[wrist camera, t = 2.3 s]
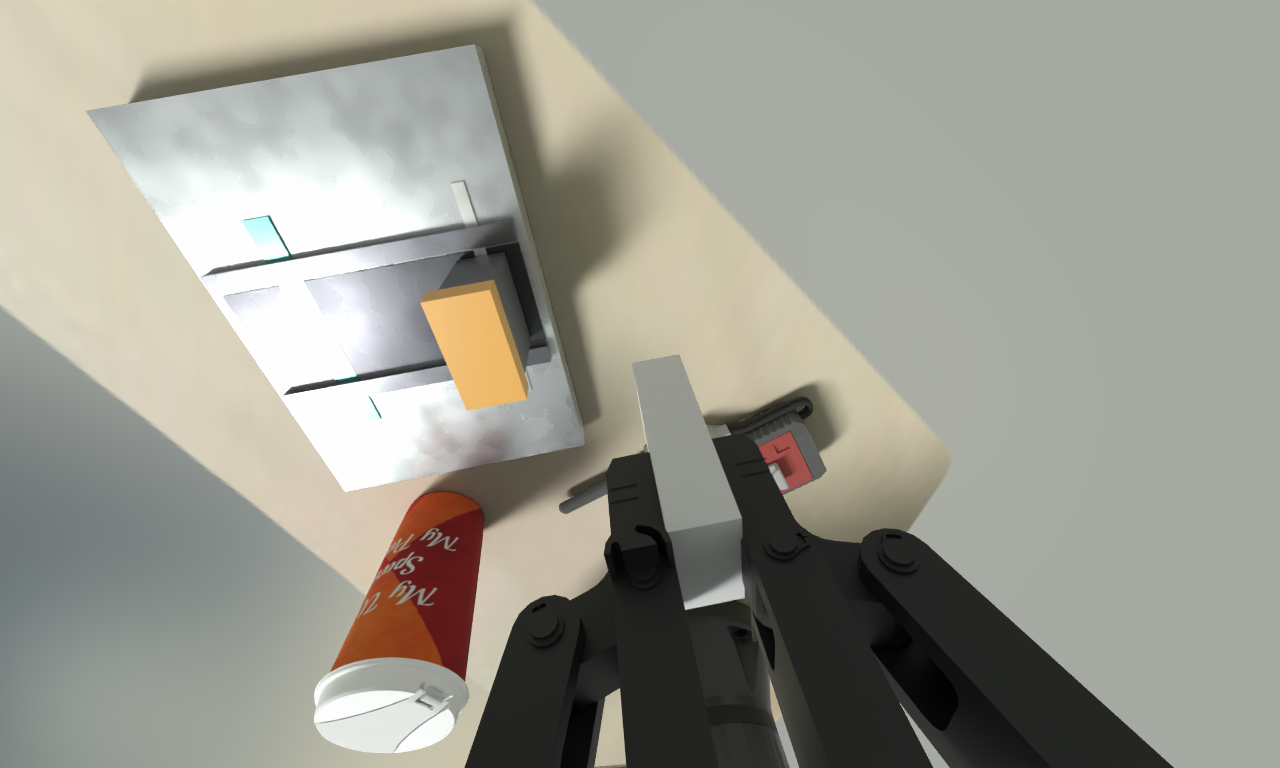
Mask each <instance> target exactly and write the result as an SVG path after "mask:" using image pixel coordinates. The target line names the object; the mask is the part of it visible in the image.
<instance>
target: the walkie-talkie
mask: <svg viewBox="0 0 1280 768" xmlns="http://www.w3.org/2000/svg"><path fill="white" fill-rule="evenodd" d="M800 406H805V408H803V409H802V410H801V411H799V412H797V411H796V410H795V408H797V407H800ZM812 412H813V404H812V403H811V402H810V400H809V399H808V398H805V397H800V398H796V399H793V400H791V401H789V402H787V403H780V404H779V405H777V406H773V408H771V409H767V410H766V411H765V412H763V413H762V412H761V413H759V415H757V416H753V417H752V418H751V419H746V421H745V422H743V423H741V422H740V423H739V425H734V426H731V427H727V425H726V424H724V425H722V426H721V425H706V426H707V428H708V431H709V434H710V436H711V439H713V438H718V437H723V436H728V435H734V434H739V433H744V434H745V435H746V436H747V437H749V438H750V439H751V440H752V441H754V442H755V443H756V444H757V445H758V447H759V449H760V451H761V453H762V455H763V457H764V461H766V463H767V465H768V467H769V469H770V473H772V475H773V477H774V479H775V481H776V483H777V485H778V487H779V489H780V491H781V493H782V495H783V494H786V493H788V492H790V491H793V490H794V489H796V488H799V487H801V486H803V485H806V484H807V483H809V482H812V481H814V480H816V479H819V478H820V477H821V476H822V475H823V474H824V473H825V472H826V468H825V466H824V464H823V461H822V459H821V457H820V455H819V452H818V450H817V448H816V446H815V443H814V441H813V439H812V437H811V434H810V432H809V430H808V428H807V426H806V424H805V423H804V422H803V419H805V418H807V417H808V416H810V415H811V413H812ZM644 452H645V453H646V452H648V449H647V445H646V446H644ZM606 494H608V490H607V479H605V480H603V481H601V482H599V483H597V484H595V485H593V486H591V487H589V489H588V490H586V491H584V492H582V493H580V494H578V495H576V496H574V497H572V498H570V499H568V500H566V501H564V502H562V503H561V504H560V505H559V509H560V511H561V512H562V513H564V514H568V513H570V512H572V511H574V510H576V509H578V508H580V507H582V506H584V505H586V504H588V503H590V502H592V501H594V500H596V499H598V498H600V497H602V496H604V495H606Z"/></svg>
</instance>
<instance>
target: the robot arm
mask: <svg viewBox="0 0 1280 768" xmlns="http://www.w3.org/2000/svg"><path fill="white" fill-rule="evenodd" d="M632 368H633V373H634V379H635V384H636V390H637V395H638V401H639V406H640V412H641V417H642V423H643V428H644V434H645V439H646V444H647V449H648V452H646V453H641V454H635V455H630V456H625V457H620V458H614V459H612V461H611V464H610V466H609V468H608V471H607V473H606V479H607V490H608V503H609V515H610V527H611V535H610V537H609V539H608V540H607V542H606V544H605V550H604V557H605V560H606V563H607V567H608V570H609V571H608V572H607V574H606V576H605V577H604V578H603V579H602V580H601V581H600V582H599V583H598V584H597V585H596V586H595V587H593V588H592V589H590V590H589V591H587V592H585V593H583V594H581V595H579V596H578V597H576V598H574V599H572V600H569V599H567V598H565V597H561V596H557V595H552V596H545V597H541V598H539V599H537V600H535V601H534V602H532V603H530V604H529V605H528V606H527V607H526V608H525V609H524V610H523V611H522V612H521V613H520V614H519V615H518V617H517V619H516V621H515V623H514V625H513V627H512V630H511V633H510V636H509V639H508V642H507V645H506V647H505V650H504V653H503V656H502V659H501V662H500V665H499V668H498V671H497V674H496V677H495V680H494V683H493V686H492V689H491V692H490V695H489V698H488V701H487V704H486V706H485V710H484V713H483V715H482V718H481V721H480V724H479V727H478V730H477V733H476V736H475V739H474V742H473V745H472V748H471V750H470V753H469V757H468V759H467V762H466V765H465V768H789V764H788V761H787V758H786V755H785V752H784V750H783V746H782V743H781V740H780V737H779V734H778V731H777V728H776V725H775V722H774V718H773V715H772V711H771V702H770V679H771V682H772V685H773V688H774V691H775V694H776V697H777V700H778V703H779V706H780V709H781V713H782V716H783V719H784V722H785V724H786V728H787V731H788V734H789V737H790V740H791V743H792V746H793V749H794V752H795V755H796V758H797V762H798V765H799V768H933V766H932V765H931V763H930V761H929V759H928V757H927V755H926V753H925V751H924V749H923V747H922V745H921V743H920V741H919V740H918V738H917V736H916V734H915V732H914V730H913V728H912V726H911V724H910V722H909V720H908V718H907V716H906V715H905V713H904V711H903V709H902V707H901V705H902V706H903V707H904V709H905V710H906V711H907V713H908V714H909V715H910V716H911V718H912V719H913V720H914V722H915V723H916V724H917V725H918V727H919V728H920V729H921V731H922V732H923V733H924V734H925V736H926V737H927V739H928V740H929V741H930V742H931V744H932V745H933V746H934V748H935V749H936V750H937V751H938V753H939V754H940V755H941V757H942V758H943V759H944V760H945V762H946V763H947V764H948V766H949V767H950V768H1174V767H1172V766H1171V765H1170V764H1169V763H1168V762H1167V761H1166V760H1165V759H1164V758H1162V757H1161V756H1160V755H1159V754H1158V753H1157V752H1156V751H1155V750H1154V749H1153V748H1151V747H1150V746H1149V745H1148V744H1147V743H1146V742H1145V741H1143V740H1142V739H1141V738H1140V737H1139V736H1138V735H1137V734H1136V733H1135V732H1134V731H1133V730H1131V729H1130V728H1129V727H1128V726H1127V725H1126V724H1125V723H1124V722H1123V721H1121V720H1120V719H1119V718H1118V717H1117V716H1116V715H1115V714H1114V713H1113V712H1112V711H1110V710H1109V709H1108V708H1107V707H1106V706H1105V705H1104V704H1103V703H1102V702H1101V701H1099V700H1098V699H1097V698H1096V697H1095V696H1094V695H1093V694H1092V693H1091V692H1089V691H1088V690H1087V689H1086V688H1085V687H1084V686H1083V685H1082V684H1081V683H1079V682H1078V681H1077V680H1076V679H1075V678H1074V677H1073V676H1072V675H1071V674H1069V673H1068V672H1067V671H1066V670H1065V669H1064V668H1063V667H1062V666H1061V665H1060V664H1058V663H1057V662H1056V661H1055V660H1054V659H1053V658H1052V657H1051V656H1050V655H1048V654H1047V653H1046V652H1045V651H1044V650H1043V649H1042V648H1041V647H1040V646H1039V645H1037V644H1036V643H1035V642H1034V641H1033V640H1032V639H1031V638H1030V637H1029V636H1028V635H1026V634H1025V633H1024V632H1023V631H1022V630H1021V629H1020V628H1019V627H1018V626H1016V625H1015V624H1014V623H1013V622H1012V621H1011V620H1010V619H1009V618H1008V617H1006V616H1005V615H1004V614H1003V613H1002V612H1001V611H1000V610H999V609H998V608H996V607H995V606H994V605H993V604H992V603H991V602H990V601H989V600H988V599H987V598H985V597H984V596H983V595H982V594H981V593H980V592H979V591H978V590H976V589H975V588H974V587H973V586H972V585H971V584H970V583H969V582H968V581H967V580H966V579H964V578H963V577H962V576H961V575H960V574H959V573H958V572H957V571H956V570H954V569H953V568H952V567H951V566H950V565H949V564H948V563H947V562H946V561H944V560H943V559H942V558H941V557H940V556H939V555H938V554H937V553H936V552H935V551H933V550H932V549H931V548H930V547H929V546H928V545H927V544H925V543H924V542H923V541H921V540H920V539H918V538H917V537H915V536H914V535H912V534H909V533H907V532H904V531H901V530H897V529H886V528H884V529H880V530H875V531H872V532H871V533H869V534H868V535H867V536H865V537H864V538H863V541H862V543H851V542H840V541H832V540H827V539H823V538H820V537H817V536H815V535H813V534H811V533H809V532H808V531H807V530H806V529H804V528H803V527H801V526H800V525H799V524H798V523H797V521H796V520H795V518H794V517H793V515H792V513H791V511H790V509H789V507H788V505H787V503H786V501H785V499H784V497H783V495H782V493H781V491H780V489H779V487H778V485H777V483H776V481H775V479H774V477H773V475H772V473H770V469H769V467H768V465H767V463H766V461H764V457H763V455H762V453H761V451H760V449H759V447H758V445H757V444H756V443H755V442H754V441H752V440H751V439H750V438H749V437H747V436H746V435H745V434H744V433H739V434H734V435H728V436H723V437H718V438H713V439H711V436H710V434H709V431H708V428H707V426H706V423H705V421H704V418H703V415H702V413H701V410H700V408H699V405H698V402H697V400H696V397H695V395H694V392H693V389H692V387H691V384H690V382H689V379H688V376H687V374H686V371H685V369H684V366H683V363H682V361H681V358H680V356H679V355H673V356H668V357H663V358H657V359H652V360H647V361H641V362H636V363H632ZM745 590H746V593H747V596H748V599H749V602H750V605H751V609H749V608H748V607H746V606H744V605H742V604H739V603H737V602H733V601H732V600H737V599H742V598H745ZM619 688H620V692H621V704H622V717H623V729H624V742H625V754H626V765H613V766H600V767H594V764H595V758H596V752H597V745H598V739H599V733H600V727H601V720H602V714H603V708H604V701H605V697H606V696H607V695H609V694H610V693H612V692H614V691H615V690H617V689H619ZM899 702H900V703H901V705H900V703H899Z"/></svg>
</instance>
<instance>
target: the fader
mask: <svg viewBox="0 0 1280 768" xmlns="http://www.w3.org/2000/svg"><path fill="white" fill-rule="evenodd" d="M420 303H421V306H422V308H423V310H424V313H425V315H426V317H427V320H428V322H429V324H430V326H431V329H432V331H433V333H434V336H435V338H436V340H437V343H438V345H439V347H440V350H441V352H442V354H443V357H444V359H445V361H446V364H447V366H448V368H449V371H450V373H451V375H452V378H453V380H454V382H455V385H456V387H457V389H458V392H459V394H460V396H461V399H462V401H463V403H464V406H465V408H466V410H467V411H469V410H474V409H479V408H484V407H490V406H495V405H500V404H505V403H511V402H516V401H521V400H526V399H527V395H528V388H529V385H528V381H527V378H526V375H525V371H526V365H527V359H528V353H529V347H530V341H531V337H530V334H529V330H528V327H527V324H526V321H525V317H524V314H523V311H522V308H521V304H520V301H519V298H518V294H517V291H516V288H515V285H514V281H513V278H512V275H511V272H510V268H509V265H508V262H507V259H506V255H505V252H500V253H494V254H489V255H483V256H478V257H472V258H467V259H461V260H457V262H456V263H455V265H454V266H453V268H452V269H451V271H450V273H449V274H448V276H447V277H446V279H445V280H444V282H443V283H442V285H441V286H440V288H439V289H438V290H435V291H429V292H427V294H426V295H425V297H424V298H423V300H422V301H421V302H420Z"/></svg>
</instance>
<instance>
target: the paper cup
mask: <svg viewBox="0 0 1280 768" xmlns="http://www.w3.org/2000/svg"><path fill="white" fill-rule="evenodd" d="M483 529H484V515H483V512H482V510H481V508H480V507H479V505H478V504H477V503H476V502H475V501H473V500H472V499H470V498H468V497H467V496H464V495H462V494H458V493H454V492H446V491H440V492H432V493H429V494H426V495H423V496H421V497H419V498H418V499H417V500H415V501H414V502H413V503H412V505H411V506H410V508H409V509H408V511H407V513H406V515H405V517H404V519H403V521H402V523H401V525H400V527H399V529H398V531H397V533H396V535H395V537H394V539H393V541H392V543H391V545H390V547H389V549H388V551H387V554H386V556H385V558H384V560H383V562H382V564H381V566H380V568H379V570H378V572H377V574H376V577H375V579H374V581H373V583H372V585H371V587H370V589H369V591H368V593H367V596H366V598H365V600H364V602H363V604H362V606H361V608H360V610H359V613H358V615H357V617H356V619H355V621H354V623H353V625H352V627H351V629H350V631H349V634H348V636H347V638H346V640H345V642H344V644H343V646H342V649H341V650H340V653H339V655H338V657H337V659H336V661H335V663H334V665H333V667H332V669H331V672H330V673H328V674H327V675H326V676H324V677H323V678H322V679H321V680H320V682H319V683H318V685H317V686H316V690H315V693H314V696H315V704H316V711H315V715H314V722H315V725H316V727H317V729H318V731H319V732H320V734H321V735H322V736H323V737H324V738H326V739H327V740H328V741H330V742H332V743H334V744H337V745H339V746H342V747H345V748H349V749H353V750H357V751H363V752H375V753H394V752H395V753H399V752H406V751H412V750H417V749H420V748H423V747H427V746H429V745H432V744H434V743H436V742H438V741H440V740H442V739H443V738H444V737H446V736H447V735H448V734H449V733H450V732H451V730H452V729H453V727H454V726H455V724H456V721H457V718H458V715H459V714H460V713H461V712H462V710H463V709H464V707H465V706H466V704H467V702H468V698H469V690H468V687H467V685H466V683H465V677H466V669H467V661H468V653H469V645H470V637H471V629H472V621H473V614H474V606H475V598H476V590H477V581H478V573H479V565H480V556H481V548H482V539H483ZM395 748H396V749H395Z"/></svg>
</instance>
